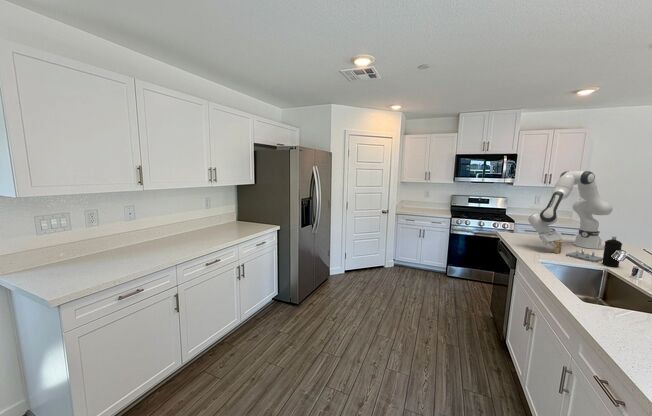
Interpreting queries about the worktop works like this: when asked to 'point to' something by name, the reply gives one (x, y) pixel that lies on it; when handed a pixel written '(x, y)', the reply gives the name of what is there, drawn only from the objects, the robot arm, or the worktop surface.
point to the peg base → (585, 256)
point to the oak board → (558, 248)
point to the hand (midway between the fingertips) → (558, 246)
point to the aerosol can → (611, 252)
